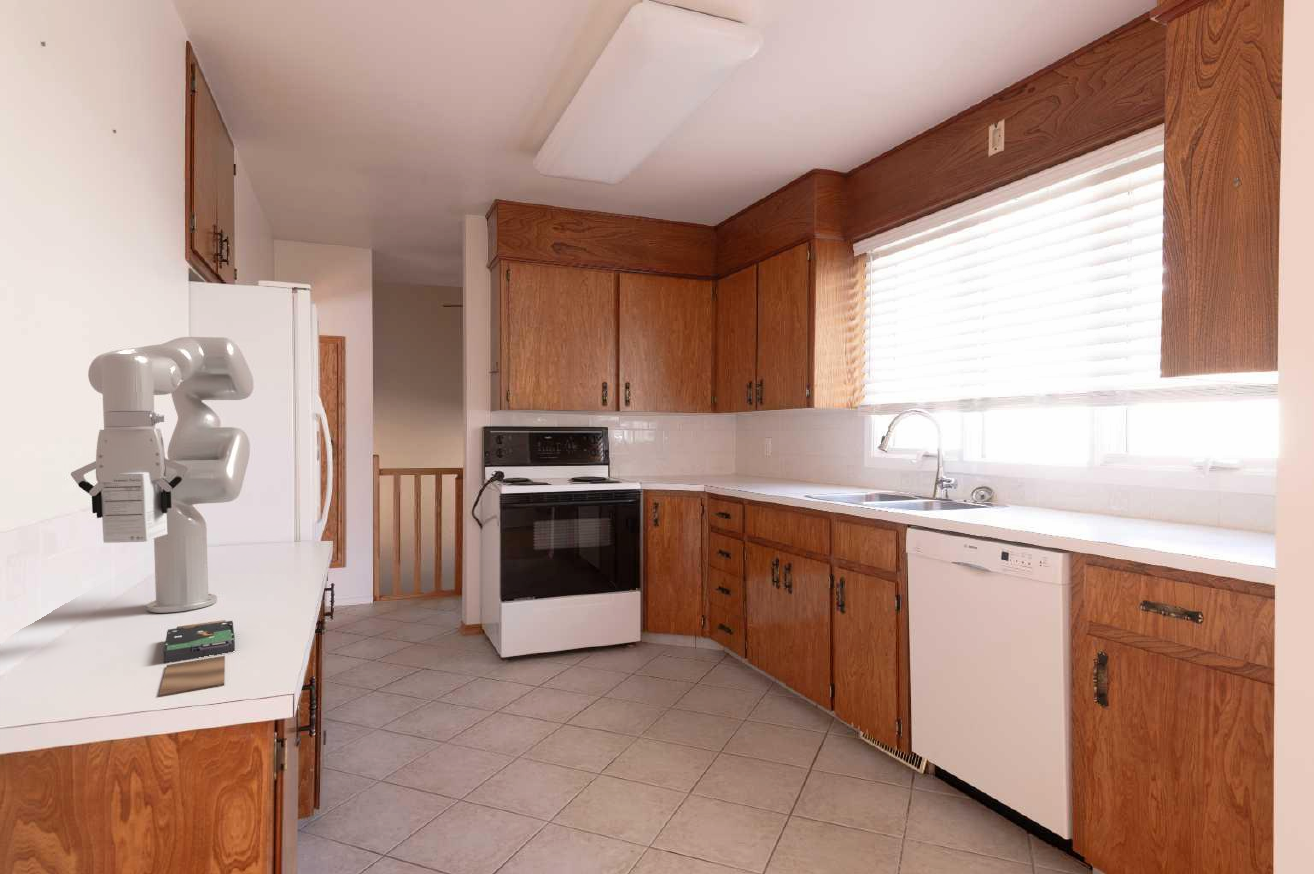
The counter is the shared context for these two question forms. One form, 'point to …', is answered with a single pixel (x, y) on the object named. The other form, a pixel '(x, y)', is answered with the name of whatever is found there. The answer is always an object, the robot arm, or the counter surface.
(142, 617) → the counter surface
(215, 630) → the disk drive
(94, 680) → the counter surface
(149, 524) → the supplement box
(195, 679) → the flat brown wooden pieces
